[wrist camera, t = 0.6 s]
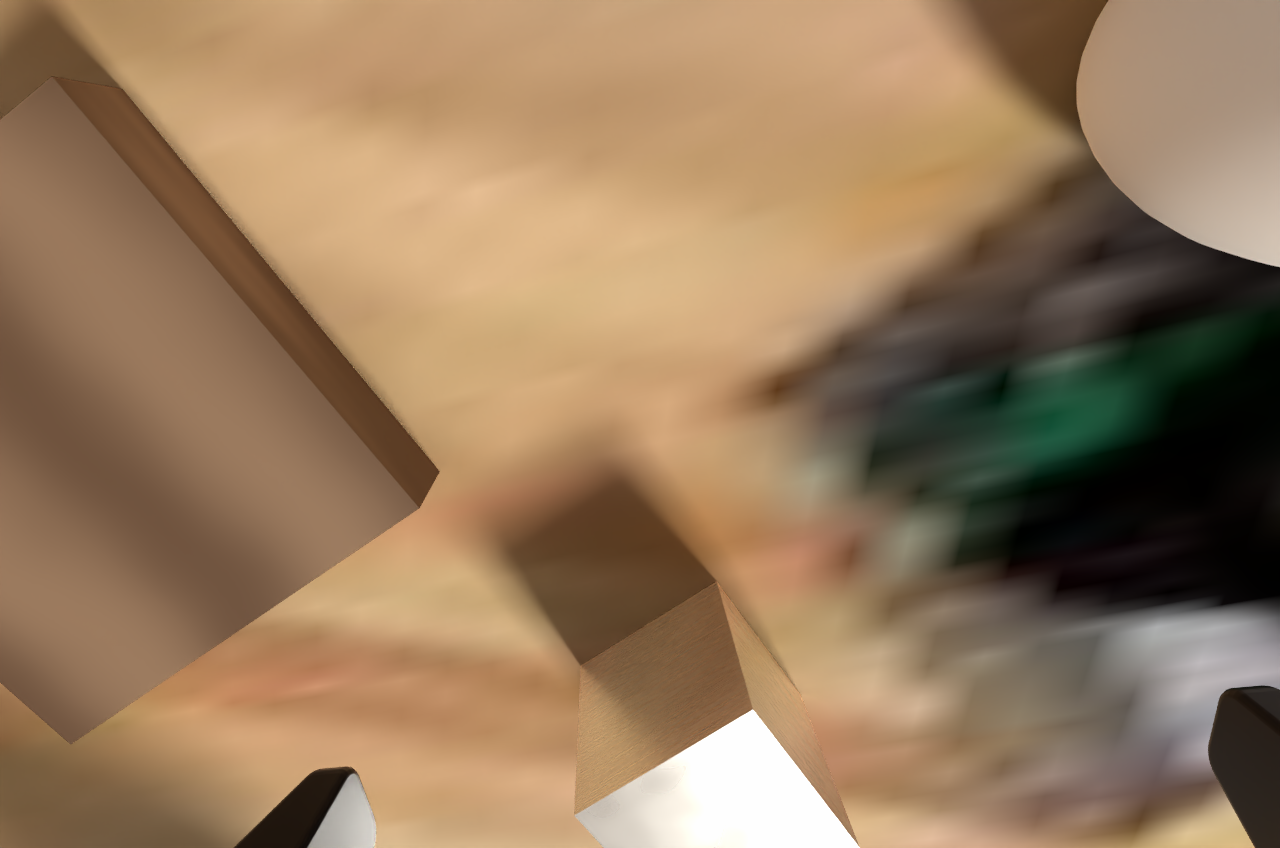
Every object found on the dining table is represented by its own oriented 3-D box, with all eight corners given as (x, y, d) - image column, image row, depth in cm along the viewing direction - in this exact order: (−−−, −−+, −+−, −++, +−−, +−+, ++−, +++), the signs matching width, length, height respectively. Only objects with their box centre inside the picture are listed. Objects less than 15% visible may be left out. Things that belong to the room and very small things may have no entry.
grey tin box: (670, 771, 26) (690, 942, 20) (580, 664, 24) (574, 815, 19) (800, 694, 25) (859, 848, 19) (716, 580, 24) (753, 709, 18)
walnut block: (133, 677, 24) (70, 744, 21) (-201, 364, 21) (-328, 394, 18) (442, 465, 23) (419, 508, 20) (133, 91, 19) (52, 76, 16)
